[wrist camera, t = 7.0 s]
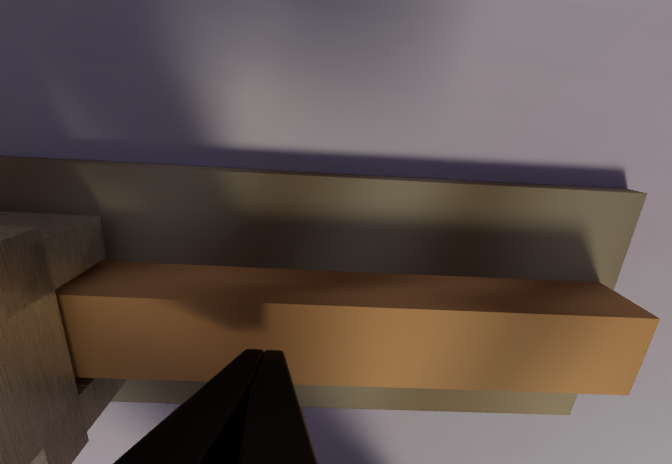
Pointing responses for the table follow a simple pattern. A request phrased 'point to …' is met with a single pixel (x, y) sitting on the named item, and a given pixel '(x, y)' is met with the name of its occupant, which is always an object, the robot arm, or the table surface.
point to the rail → (346, 284)
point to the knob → (44, 338)
